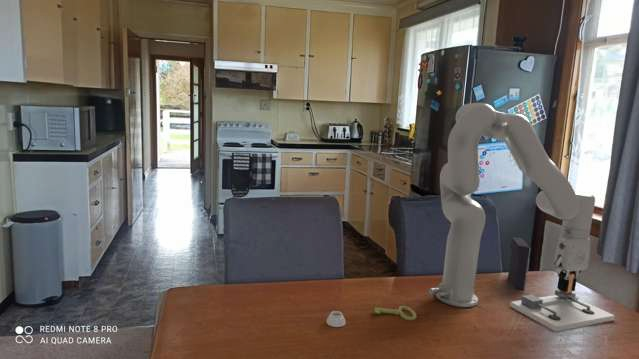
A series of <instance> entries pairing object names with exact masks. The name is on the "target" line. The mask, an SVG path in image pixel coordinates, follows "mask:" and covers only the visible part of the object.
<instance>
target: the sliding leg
mask: <svg viewBox="0 0 639 359" xmlns="http://www.w3.org/2000/svg"><path fill="white" fill-rule="evenodd" d="M563 272H564V273H565V271H563ZM574 276H575V274H573V273H570V272H569V277H568V280H569V286H568V292H563V291H561V290H559V289H557V290H556V289H555V291H554V295H556V296H558V297H560V298H563V299H565V300H572V301H574V302H576V303H578V304H580V305H582V306H585V307H587V310H590V306H588V305H586V304H584V303H581V302H579V301H577V300H575V296H577V295H576V293H574V292H573V291H572V288H573V282H574Z"/></svg>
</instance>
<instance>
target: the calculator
mask: <svg viewBox="0 0 639 359" xmlns="http://www.w3.org/2000/svg"><path fill="white" fill-rule="evenodd" d="M510 249H511V254H510V260H509V270H508V273H507V274H508V275H507V276H508V280H509V281H510V283H511V285H512V286H513V288H514V289H516V290H524V289H526V287H527V286H526V285H527V280H528V272H529V265H530V255H531V247H530V246H529V244H528V243H527V242H526V241H525V239H523V238H522V237H521V238H520V237H511V241H510Z"/></svg>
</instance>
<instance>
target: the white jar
mask: <svg viewBox="0 0 639 359" xmlns="http://www.w3.org/2000/svg"><path fill="white" fill-rule="evenodd" d="M326 325H328V326H330V327H333V328H340V327H344V326H345V325H346V319H345V317H344V315H343V313H342V312H341V311H339V310H333V311H331V312H330V314H329V315H328V316H327V318H326Z"/></svg>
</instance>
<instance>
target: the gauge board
mask: <svg viewBox="0 0 639 359" xmlns="http://www.w3.org/2000/svg"><path fill="white" fill-rule="evenodd" d="M575 300H577V301H579V302H581V303H584V304H586V305H588V306H590V310H587V307H585V306H582V305H580V304H578V303H576V302H574V301H572V300H565V299H563V298H560V297H558V296H556V295H555V294H554V295H546V296H539V297H537V296H536V295H535V294H526V295H521V300H514V301H510V305H509V306H510V307H511V308H512V309H514V310H515V311H517V312H520V313H522V314H523V315H525V316H527V317H529V318H531V319H532V320H534V321H536V322H537V323H538V324H541V325H543V326H545V327H547V328H548V329H550V330H552V331H554V332H560V331H565V330H571V329H576V328H580V327H585V326H586V327H587V326H592V325H596V324H602V323H606V322H607V323H608V322H611V321H615V315H614V314H612V313H610V312H609V311H606V310H603V309H602V308H599V307H597V306H594V305H593V304H590V303H588V302H586V301H584V300H582V299H579V296H577V295H576V296H575Z"/></svg>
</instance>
